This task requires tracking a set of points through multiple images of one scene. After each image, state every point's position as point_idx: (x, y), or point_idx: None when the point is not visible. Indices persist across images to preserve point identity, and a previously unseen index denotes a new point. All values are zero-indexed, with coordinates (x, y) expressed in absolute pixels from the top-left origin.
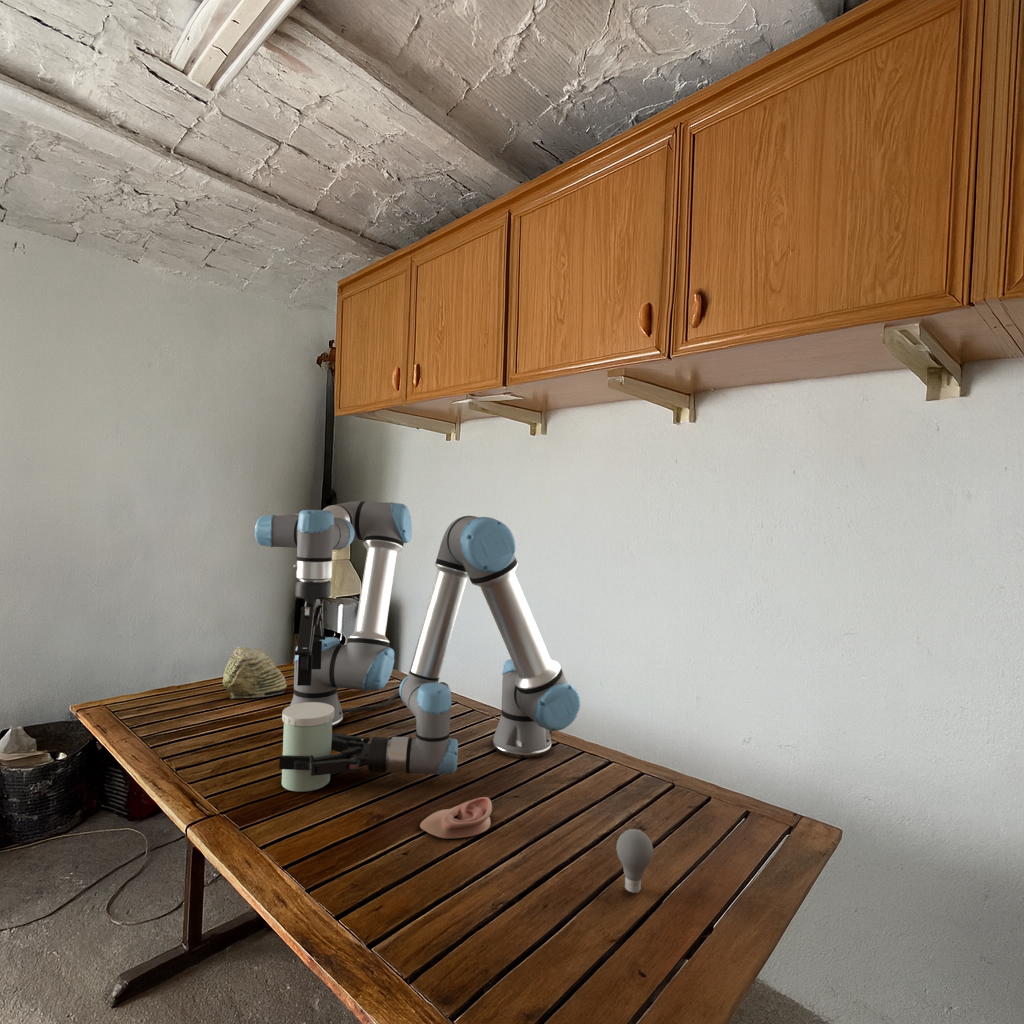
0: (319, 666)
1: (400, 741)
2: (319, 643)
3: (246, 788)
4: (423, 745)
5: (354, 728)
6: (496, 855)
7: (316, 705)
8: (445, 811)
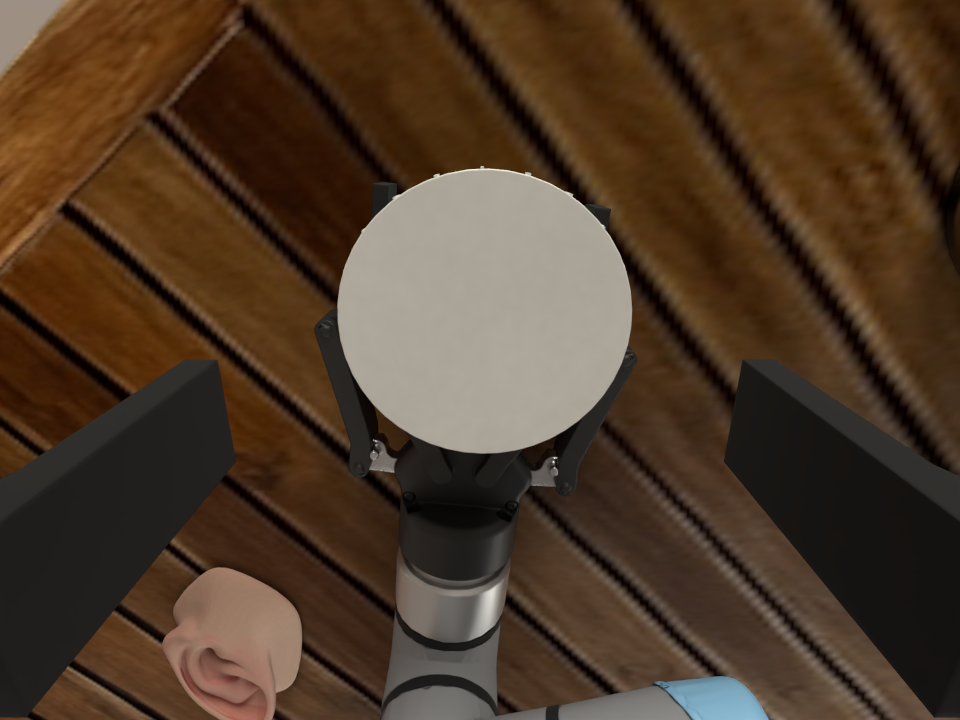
0: (739, 466)
1: (428, 618)
2: (917, 658)
3: (432, 50)
4: (391, 678)
5: (942, 359)
6: (134, 685)
7: (565, 354)
8: (239, 632)
